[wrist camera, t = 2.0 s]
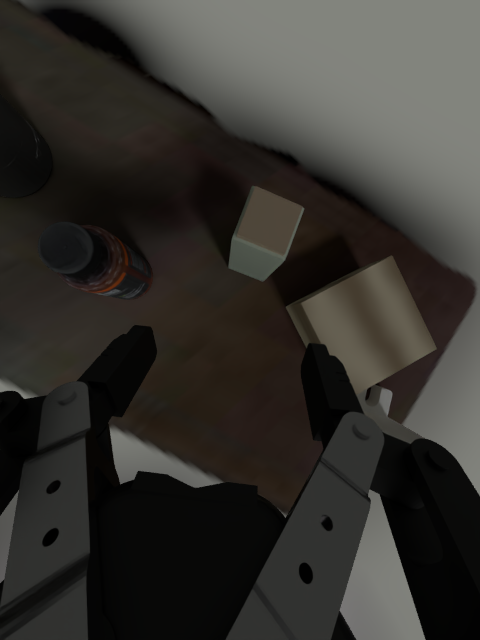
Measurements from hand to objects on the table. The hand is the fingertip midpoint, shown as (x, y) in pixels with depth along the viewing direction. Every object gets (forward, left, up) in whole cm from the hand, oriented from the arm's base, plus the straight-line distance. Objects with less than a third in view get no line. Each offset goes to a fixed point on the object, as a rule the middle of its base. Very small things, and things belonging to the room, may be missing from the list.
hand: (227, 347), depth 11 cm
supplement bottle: (-10, +10, -17) cm, 22 cm away
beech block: (+16, -3, -17) cm, 24 cm away
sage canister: (+6, +9, -17) cm, 20 cm away
